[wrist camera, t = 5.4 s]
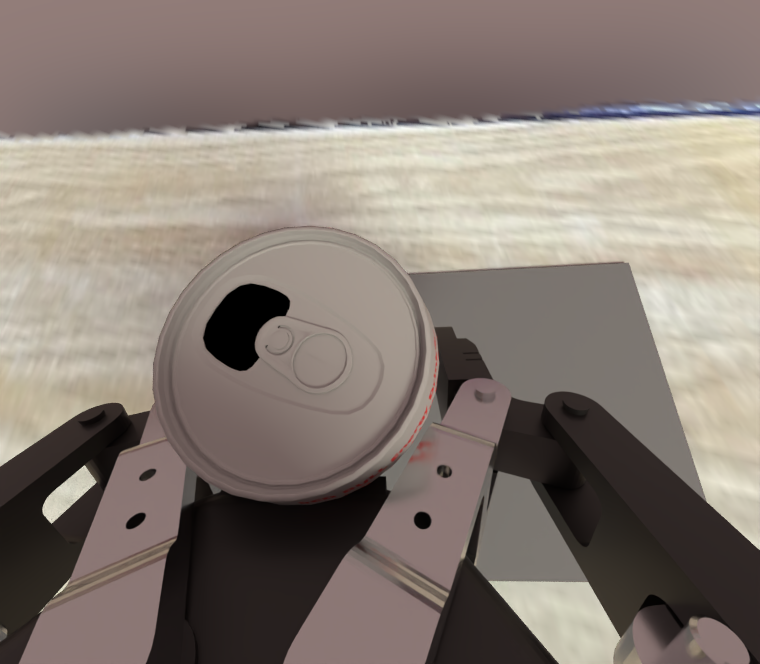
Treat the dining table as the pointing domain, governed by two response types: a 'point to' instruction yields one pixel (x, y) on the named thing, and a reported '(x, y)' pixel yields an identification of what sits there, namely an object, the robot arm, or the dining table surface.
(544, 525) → the mat
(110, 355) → the dining table surface
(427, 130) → the dining table surface
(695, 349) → the dining table surface
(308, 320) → the energy drink
